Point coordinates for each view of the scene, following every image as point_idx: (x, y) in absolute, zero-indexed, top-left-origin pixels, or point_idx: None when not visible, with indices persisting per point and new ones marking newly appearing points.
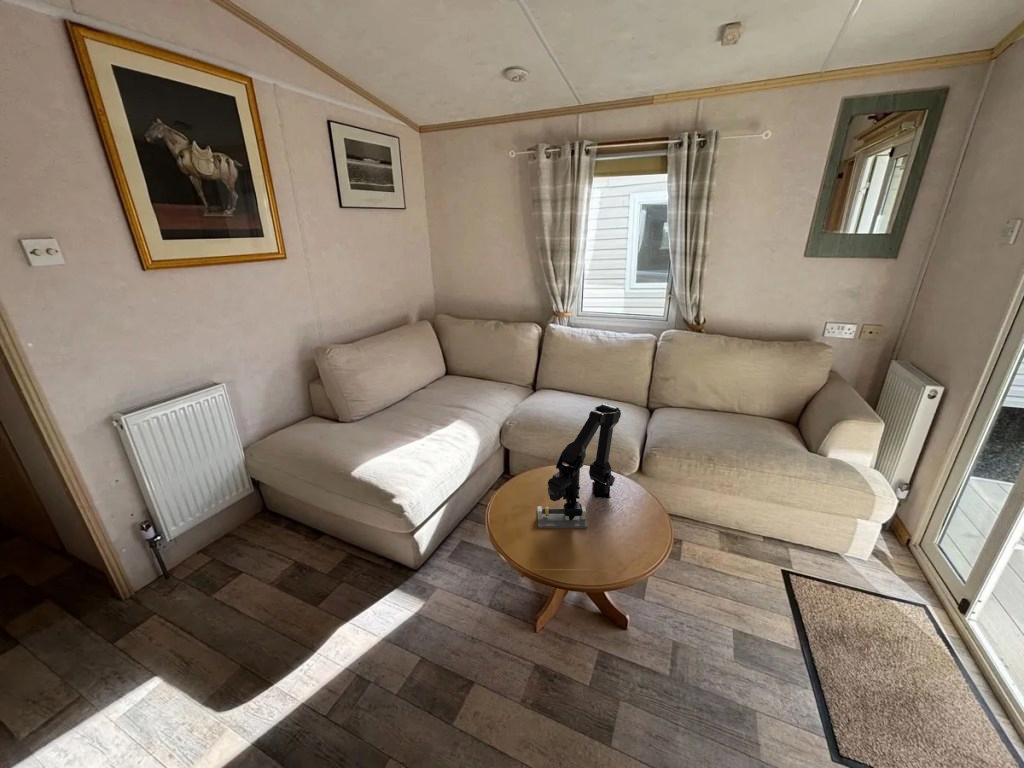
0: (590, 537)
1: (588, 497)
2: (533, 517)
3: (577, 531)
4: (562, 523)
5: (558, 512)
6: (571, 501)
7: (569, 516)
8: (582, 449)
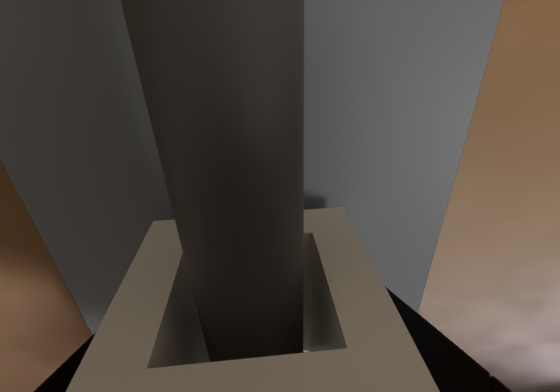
0: (25, 388)
1: (549, 368)
2: None
3: (62, 306)
4: (68, 170)
5: (159, 144)
6: None
7: (71, 366)
8: None
